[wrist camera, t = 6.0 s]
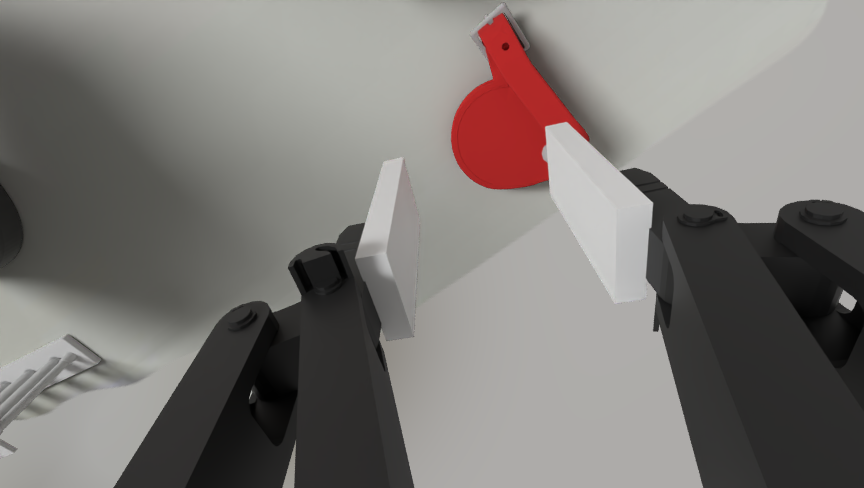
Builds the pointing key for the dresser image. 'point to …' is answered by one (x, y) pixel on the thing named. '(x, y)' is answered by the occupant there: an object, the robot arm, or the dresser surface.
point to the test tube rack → (38, 377)
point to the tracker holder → (507, 112)
